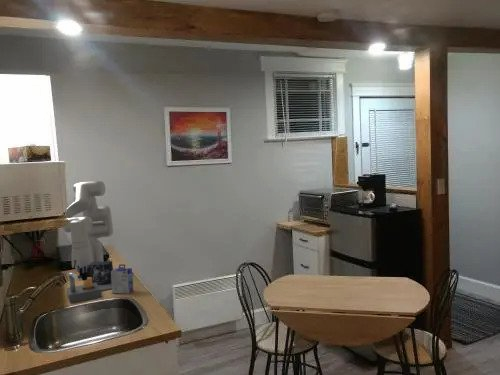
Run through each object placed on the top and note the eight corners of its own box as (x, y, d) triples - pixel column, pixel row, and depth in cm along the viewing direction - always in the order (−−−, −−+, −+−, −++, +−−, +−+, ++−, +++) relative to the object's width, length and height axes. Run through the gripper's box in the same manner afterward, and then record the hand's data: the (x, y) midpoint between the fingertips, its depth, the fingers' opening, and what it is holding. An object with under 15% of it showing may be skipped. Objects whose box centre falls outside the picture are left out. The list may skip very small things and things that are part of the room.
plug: (83, 294, 234) (81, 278, 234) (93, 292, 237) (91, 276, 236) (84, 297, 230) (82, 280, 229) (94, 295, 232) (93, 278, 231)
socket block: (67, 295, 235) (65, 274, 234) (96, 289, 242) (94, 269, 241) (70, 303, 223) (67, 280, 222) (101, 296, 229) (99, 275, 228)
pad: (96, 287, 246) (96, 286, 246) (113, 284, 250) (113, 283, 250) (99, 291, 238) (99, 290, 238) (116, 288, 242) (116, 287, 242)
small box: (87, 285, 250) (85, 265, 249) (91, 282, 257) (89, 261, 256) (110, 284, 250) (108, 263, 249) (114, 280, 257) (112, 260, 256)
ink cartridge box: (134, 290, 237) (132, 263, 236) (129, 293, 232) (127, 266, 231) (117, 290, 239) (115, 263, 238) (112, 293, 234) (109, 266, 233)
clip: (66, 276, 229) (65, 271, 229) (74, 274, 232) (73, 269, 231) (76, 281, 218) (75, 277, 217) (84, 279, 220) (84, 275, 220)
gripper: (82, 240, 230) (85, 274, 232) (64, 248, 215) (68, 284, 218) (95, 240, 228) (98, 275, 230) (78, 248, 214) (81, 285, 216)
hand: (83, 279), depth 224 cm, fingers closed
